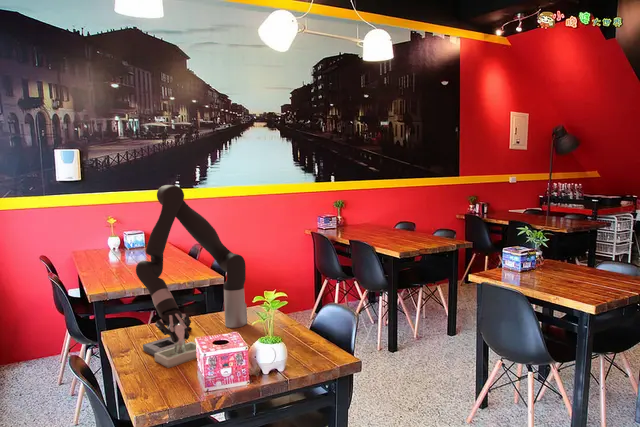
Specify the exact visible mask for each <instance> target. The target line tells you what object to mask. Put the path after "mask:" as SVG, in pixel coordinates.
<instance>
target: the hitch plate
mask: <svg viewBox="0 0 640 427" xmlns="http://www.w3.org/2000/svg"><path fill="white" fill-rule="evenodd" d="M186 343H187V342H185V344H186ZM173 347H174V342H173V341H172V339H171V337H170V336H167V337H163V338H160V339H157V340H154V341H151V342H147V343H144V344H142V351H143V352H144V353H147V354H149V355H151V356H152V357H154V358H155V354H154V353H157V352H160V351H163V350H167V349H170V348H173Z"/></svg>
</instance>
